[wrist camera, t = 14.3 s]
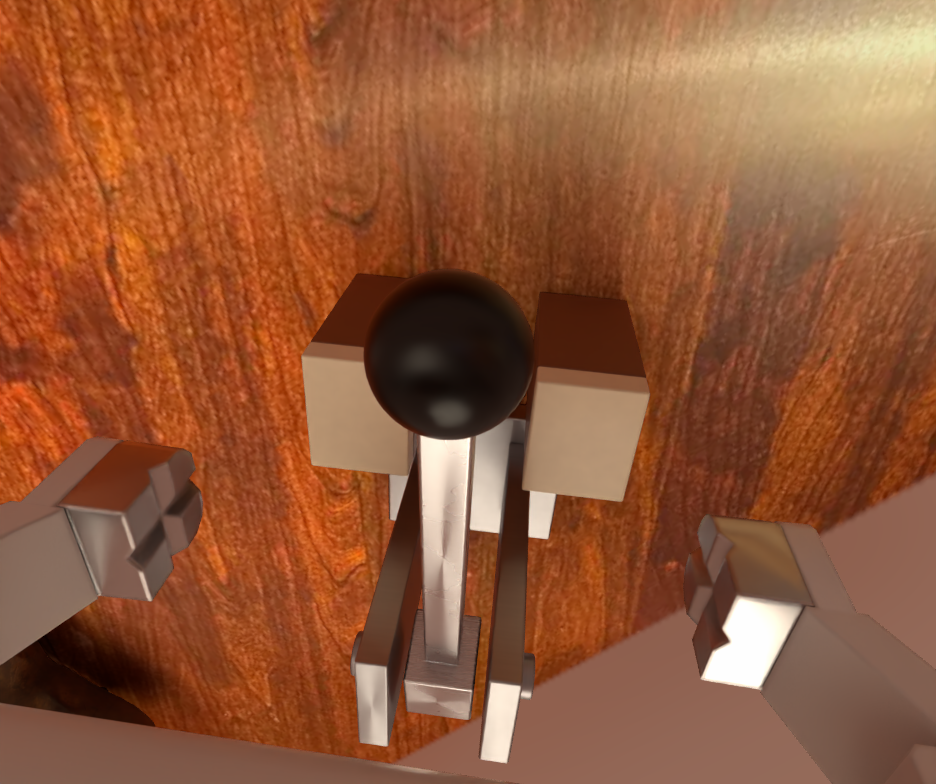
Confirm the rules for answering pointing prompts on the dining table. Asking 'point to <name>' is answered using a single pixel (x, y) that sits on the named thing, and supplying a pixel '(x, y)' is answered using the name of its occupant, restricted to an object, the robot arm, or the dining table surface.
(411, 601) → the bracket
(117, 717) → the dark brown bag
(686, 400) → the dining table surface
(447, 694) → the black ball knob lever
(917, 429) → the dining table surface
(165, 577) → the robot arm
